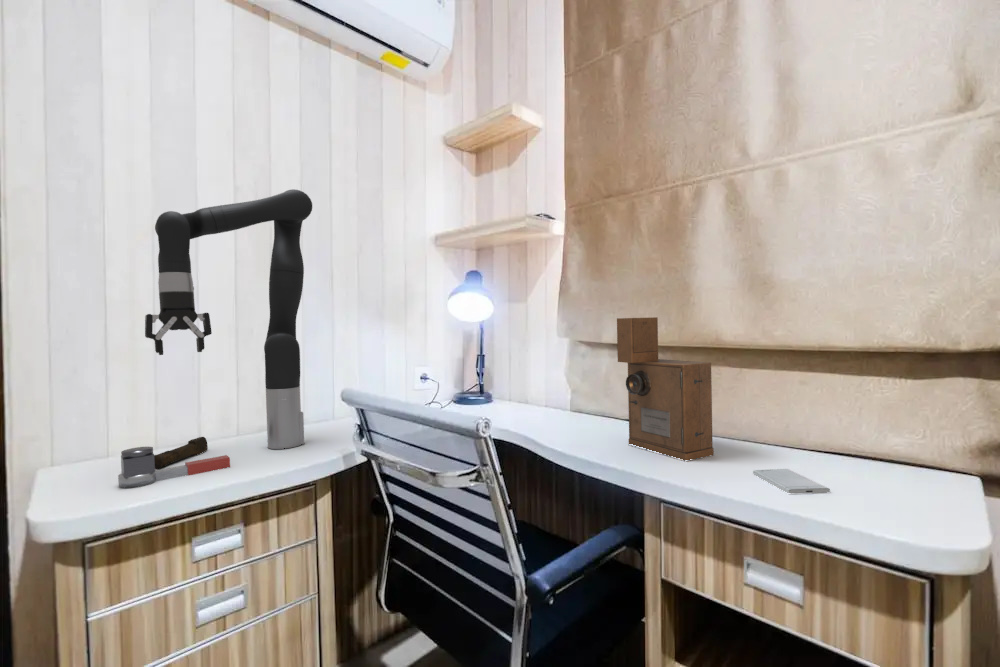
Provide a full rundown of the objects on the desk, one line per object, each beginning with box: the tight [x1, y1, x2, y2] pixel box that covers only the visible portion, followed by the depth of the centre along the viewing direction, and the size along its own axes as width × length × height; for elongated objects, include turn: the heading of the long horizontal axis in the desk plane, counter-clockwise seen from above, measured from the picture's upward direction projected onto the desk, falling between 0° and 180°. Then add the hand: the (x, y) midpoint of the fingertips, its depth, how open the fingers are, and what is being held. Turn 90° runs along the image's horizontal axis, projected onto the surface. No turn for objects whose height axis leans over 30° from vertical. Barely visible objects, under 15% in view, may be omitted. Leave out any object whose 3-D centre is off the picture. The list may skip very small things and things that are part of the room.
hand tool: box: [154, 436, 209, 470], centre depth 131 cm, size 19×4×5 cm, turn 171°
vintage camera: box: [616, 317, 715, 461], centre depth 127 cm, size 19×14×35 cm
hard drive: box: [752, 468, 831, 494], centre depth 100 cm, size 2×8×12 cm
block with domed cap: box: [120, 446, 155, 478], centre depth 111 cm, size 6×6×5 cm
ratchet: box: [117, 454, 231, 490], centre depth 116 cm, size 22×7×6 cm, turn 132°
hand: (180, 353), depth 126 cm, fingers open, 8 cm apart
